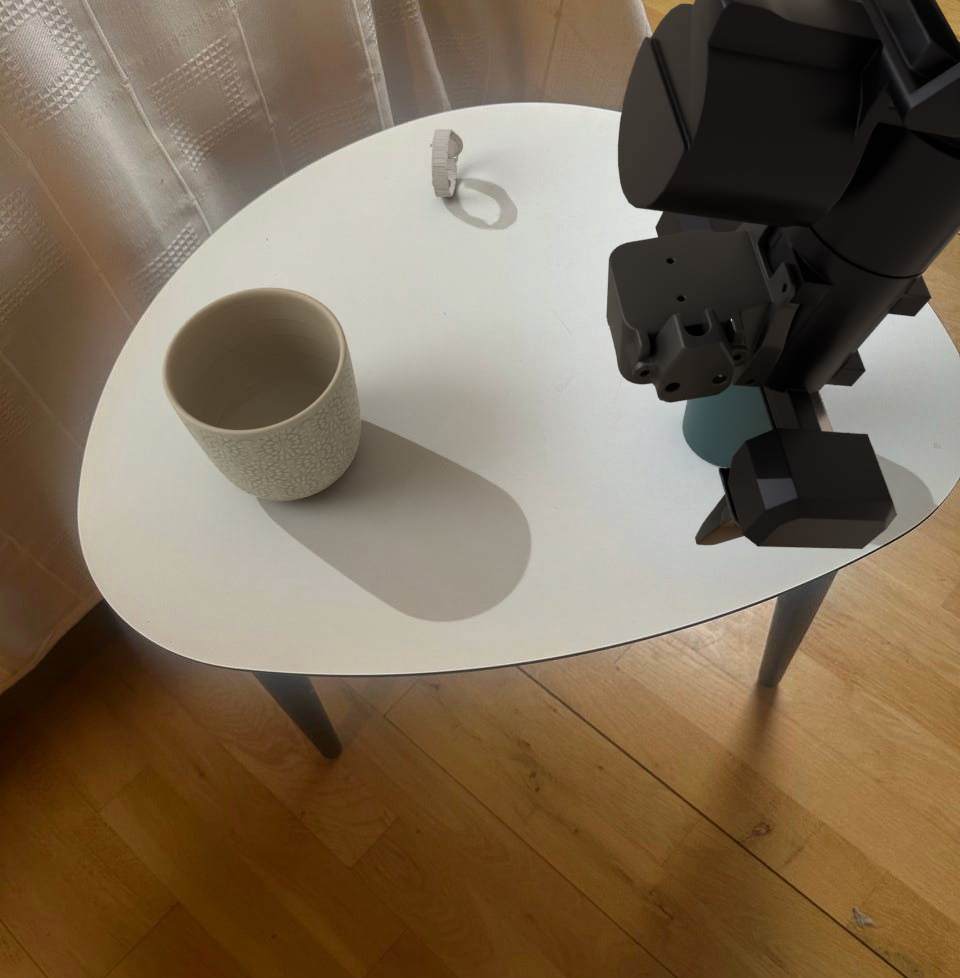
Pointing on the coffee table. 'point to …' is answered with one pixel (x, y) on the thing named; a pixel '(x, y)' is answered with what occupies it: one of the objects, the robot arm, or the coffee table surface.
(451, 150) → the wristwatch
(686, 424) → the bottle
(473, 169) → the coffee table surface
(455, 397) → the coffee table surface
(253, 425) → the planter
